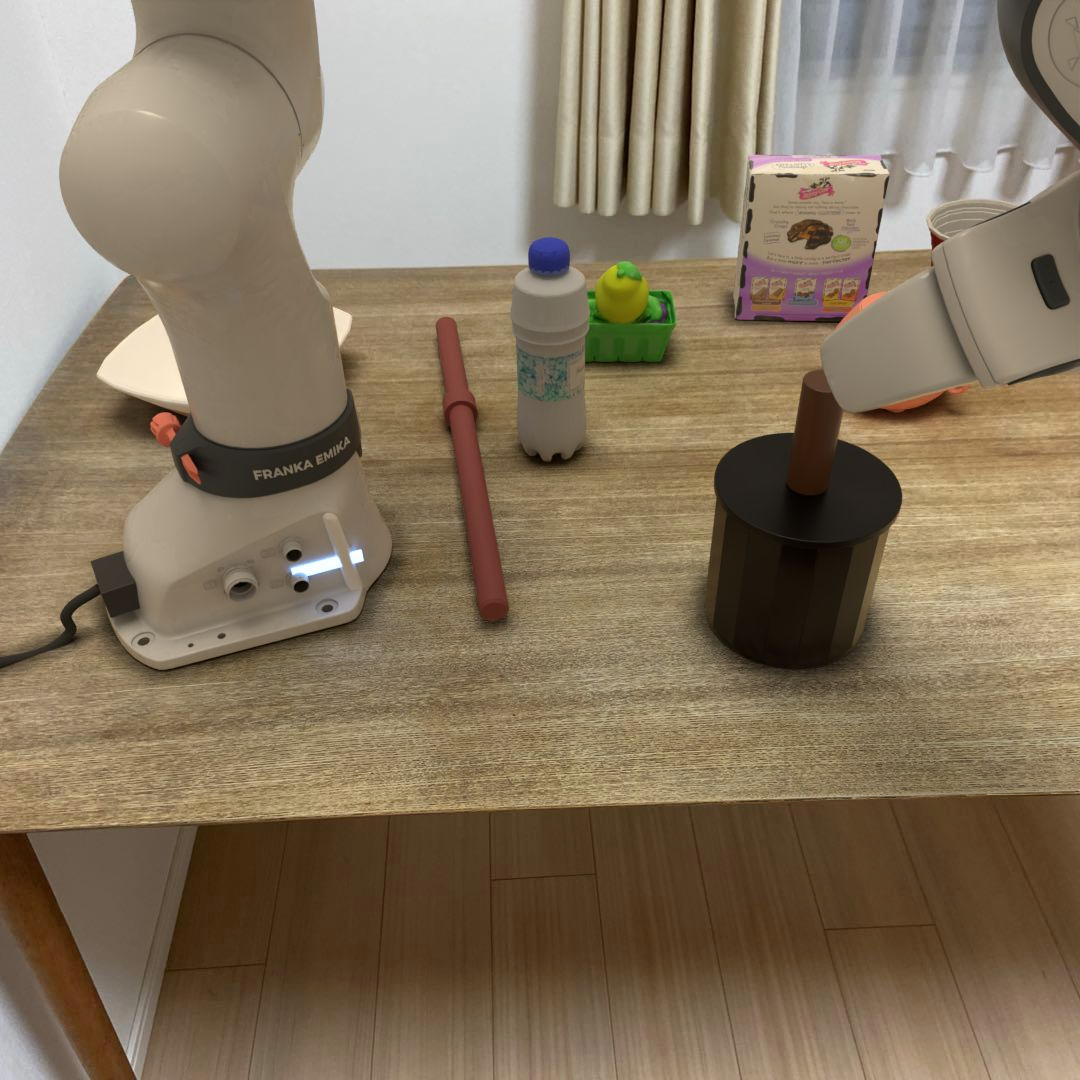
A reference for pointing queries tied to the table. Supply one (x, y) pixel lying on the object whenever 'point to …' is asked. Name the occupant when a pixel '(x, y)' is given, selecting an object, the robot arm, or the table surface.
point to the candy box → (808, 235)
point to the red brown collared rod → (471, 475)
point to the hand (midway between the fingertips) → (914, 362)
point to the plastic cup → (962, 217)
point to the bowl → (163, 364)
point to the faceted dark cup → (787, 596)
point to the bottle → (550, 350)
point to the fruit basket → (628, 318)
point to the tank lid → (809, 480)
